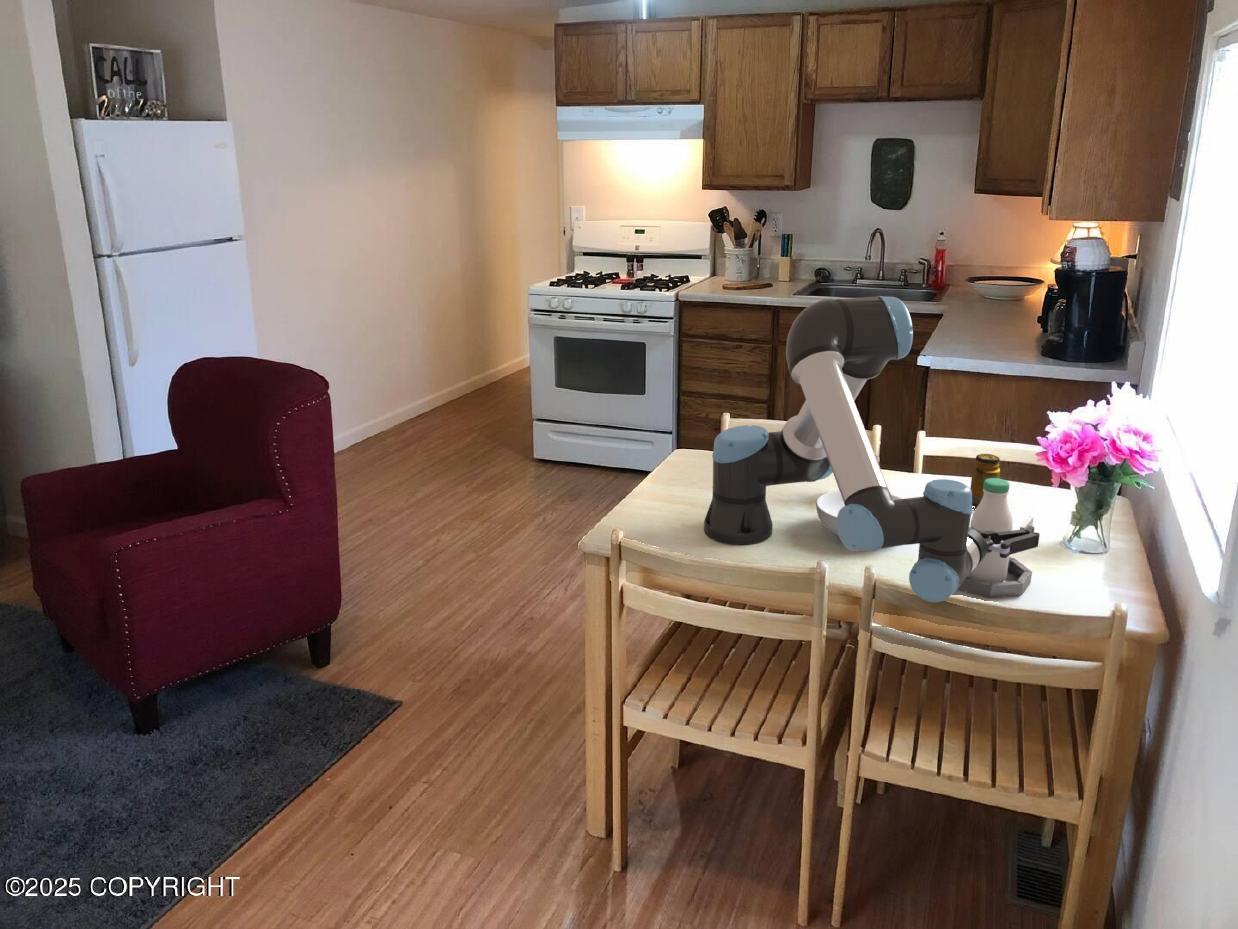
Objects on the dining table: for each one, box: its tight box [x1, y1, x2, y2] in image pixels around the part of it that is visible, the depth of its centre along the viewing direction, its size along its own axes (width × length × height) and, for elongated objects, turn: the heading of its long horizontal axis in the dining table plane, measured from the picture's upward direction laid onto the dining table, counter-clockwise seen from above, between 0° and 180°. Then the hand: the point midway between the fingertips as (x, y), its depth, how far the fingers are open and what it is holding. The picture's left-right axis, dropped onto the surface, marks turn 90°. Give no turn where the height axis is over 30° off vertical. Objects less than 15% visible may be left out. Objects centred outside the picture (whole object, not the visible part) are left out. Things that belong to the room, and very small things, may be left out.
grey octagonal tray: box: [957, 556, 1033, 599], centre depth 189 cm, size 15×15×2 cm
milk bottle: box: [968, 478, 1014, 583], centre depth 186 cm, size 8×8×20 cm
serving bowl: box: [815, 489, 903, 537], centre depth 210 cm, size 21×21×7 cm
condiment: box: [969, 453, 1001, 509], centre depth 225 cm, size 7×8×12 cm
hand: (993, 515), depth 184 cm, fingers open, 13 cm apart
